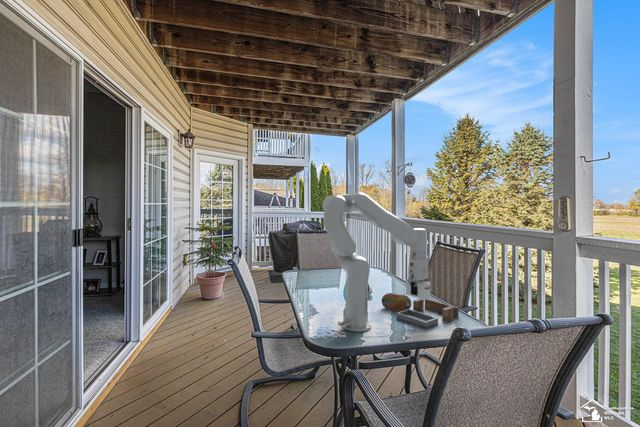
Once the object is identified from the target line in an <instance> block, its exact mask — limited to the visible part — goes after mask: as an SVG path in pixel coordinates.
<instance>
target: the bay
mask: <svg viewBox="0 0 640 427" xmlns="http://www.w3.org/2000/svg"><path fill="white" fill-rule="evenodd" d="M412 304H413V305H412V308H413V309H412V310H414V311H417V312H420V313H423V312H424V309H425V310H429V311H432V312H434V313H435V312H436V313H439V314H442V315H441V316H442V322H443V323H446V324H447V323H449V322H451V321H454V318H455V319H460V318H459V313H460V312H459V310H460V308H459V307H458V306H454V305H450V304H447V303H443V302H440V301H436V300H433V299H430V298H428V299H425V300H423V299H420V298H416V299H413V303H412Z"/></svg>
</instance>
